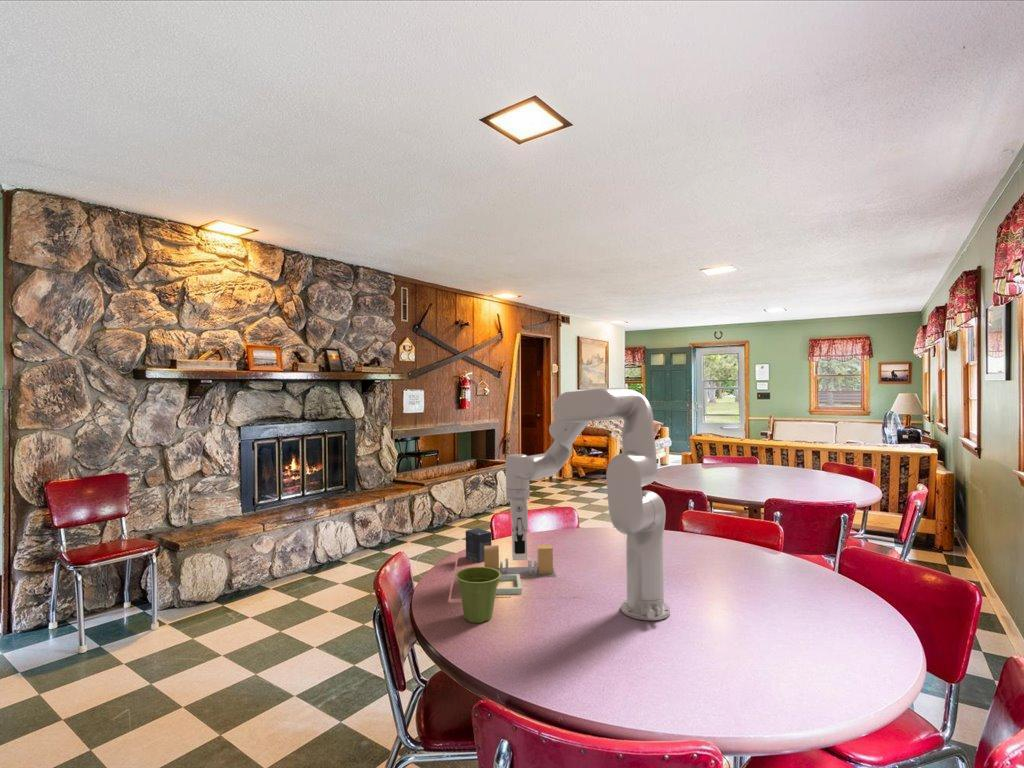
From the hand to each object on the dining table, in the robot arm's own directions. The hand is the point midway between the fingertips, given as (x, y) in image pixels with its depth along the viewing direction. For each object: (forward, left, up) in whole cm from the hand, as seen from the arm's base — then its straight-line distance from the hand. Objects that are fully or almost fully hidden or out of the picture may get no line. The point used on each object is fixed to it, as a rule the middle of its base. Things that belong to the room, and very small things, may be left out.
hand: (519, 550), depth 169 cm
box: (+15, +13, -8) cm, 22 cm away
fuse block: (0, 0, -8) cm, 8 cm away
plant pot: (-31, +12, -8) cm, 34 cm away
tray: (-12, +6, -8) cm, 15 cm away
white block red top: (0, 0, -2) cm, 2 cm away
